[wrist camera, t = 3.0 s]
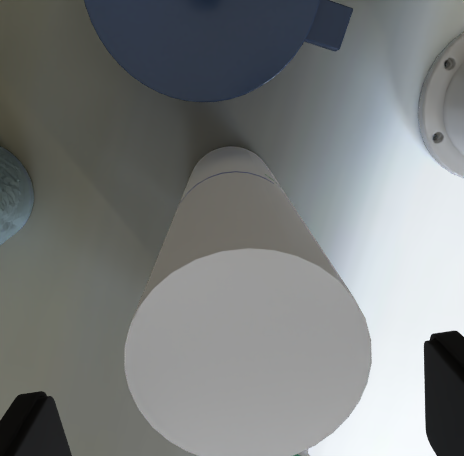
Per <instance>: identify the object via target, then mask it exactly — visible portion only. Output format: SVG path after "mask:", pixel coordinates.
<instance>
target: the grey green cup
mask: <svg viewBox="0 0 464 456" xmlns="http://www.w3.org/2000/svg"><path fill="white" fill-rule="evenodd" d="M33 202H34V192H33V186H32V183H31V180H30V177H29V175H28V173H27V171H26V169H25V168H24V166H23V165H22V164H21V162H20V161H19V160H18V159H17V158H16V157H15V156H14V155H13V154H12V153H10V152H9V151H8V150H6V149H5V148H3V147H1V146H0V245H1V244H2V243H3V242H5V241H6V240H7V239H8V238H10V237H11V236H13V235H14V234H15V233H16V232H18V231H19V230H20V229H21V228H22V227H23V226H24V225H25V223H26V221H27V220H28V218H29V216H30V214H31V211H32V207H33Z"/></svg>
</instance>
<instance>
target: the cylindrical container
mask: <svg viewBox="0 0 464 456" xmlns="http://www.w3.org/2000/svg"><path fill="white" fill-rule="evenodd" d="M371 362H372V361H371V338H370V335H369V331H368V327H367V323H366V319H365V317H364V315H363V313H362V312H361V310H360V308H359V306H358V304H357V302H356V301H355V299H354V297H353V296H352V294H351V293H350V291H349V290H348V288H347V286H346V285H345V283H344V282H343V280H342V279H341V277H340V276H339V274H338V273H337V271H336V270H335V268H334V267H333V265H332V264H331V262H330V261H329V259H328V258H327V256H326V255H325V253H324V252H323V250H322V249H321V247H320V246H319V244H318V243H317V241H316V239H315V238H314V236H313V235H312V233H311V232H310V230H309V229H308V227H307V226H306V224H305V223H304V221H303V220H302V218H301V217H300V215H299V214H298V212H297V211H296V209H295V208H294V206H293V205H292V203H291V202H290V200H289V199H288V197H287V196H286V194H285V193H284V191H283V189H282V188H281V186H280V185H279V183H278V182H277V180H276V179H275V177H274V176H273V174H272V173H271V171H270V170H269V168H268V166H267V165H266V164H265V162H264V161H263V160H262V159H261V158H260V157H259V156H257V155H256V154H255V153H253V152H251V151H249V150H247V149H244V148H241V147H233V146H229V147H221V148H218V149H215V150H213V151H211V152H209V153H208V154H206V155H205V156H204V157H203V158H201V159H200V160H199V161H198V163H197V164H196V166H195V167H194V169H193V171H192V173H191V175H190V178H189V180H188V183H187V185H186V188H185V190H184V193H183V195H182V198H181V200H180V203H179V205H178V208H177V210H176V213H175V215H174V218H173V220H172V223H171V225H170V228H169V230H168V233H167V235H166V238H165V240H164V243H163V245H162V248H161V250H160V253H159V255H158V257H157V260H156V262H155V265H154V267H153V270H152V272H151V275H150V277H149V280H148V282H147V285H146V287H145V290H144V292H143V295H142V297H141V300H140V302H139V305H138V307H137V310H136V312H135V315H134V317H133V320H132V322H131V325H130V327H129V331H128V336H127V340H126V344H125V365H124V368H125V373H126V377H127V382H128V387H129V390H130V392H131V394H132V396H133V399H134V401H135V403H136V405H137V407H138V409H139V410H140V412H141V413H142V414H143V416H144V417H145V418H146V419H147V421H148V422H149V423H150V425H151V426H152V427H153V428H154V429H156V430H157V431H158V432H159V433H160V434H161V435H163V436H164V437H165V438H166V439H167V440H168V441H170V442H172V443H173V444H175V445H177V446H179V447H180V448H182V449H184V450H186V451H187V452H190V453H193V454H195V455H198V456H293V455H295V454H298V453H300V452H302V451H304V450H306V449H308V448H310V447H312V446H315V445H316V444H318V443H319V442H320V441H322V440H323V439H325V438H326V437H327V436H329V435H330V434H332V433H333V432H334V431H335V430H336V429H337V428H338V427H339V426H340V425H341V424H342V423H343V422H344V421H345V420H346V419H347V418H348V417H349V415H350V414H351V413H352V411H353V410H354V408H355V407H356V405H357V404H358V402H359V401H360V398H361V396H362V394H363V391H364V389H365V387H366V385H367V382H368V377H369V372H370V367H371Z"/></svg>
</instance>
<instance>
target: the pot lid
mask: <svg viewBox="0 0 464 456" xmlns="http://www.w3.org/2000/svg"><path fill="white" fill-rule="evenodd" d="M319 1H320V0H84V2H85V6H86V9H87V11H88V14H89V17H90V20H91V22H92V24H93V26H94V28H95V30H96V32H97V34H98V36H99V38H100V40H101V41H102V43H103V44H104V46H105V47H106V49H107V50H108V52H109V53H110V54H111V55H112V57H113V58H114V59H115V60H116V61H117V62H118V64H119V65H120V66H121V67H123V68H124V69H125V70H126V71H127V72H128V73H129V74H130V75H131V76H133V77H134V78H135V79H137V80H138V81H140V82H141V83H142V84H144V85H146V86H147V87H149V88H151V89H153V90H155V91H157V92H159V93H161V94H164V95H167V96H169V97H172V98H176V99H181V100H185V101H193V102H217V101H223V100H228V99H232V98H235V97H239V96H242V95H245V94H247V93H249V92H251V91H253V90H255V89H257V88H259V87H260V86H262V85H264V84H265V83H267V82H268V81H270V80H271V79H272V78H273V77H275V76H276V75H277V74H278V73H279V72H280V71H282V70H283V69H284V67H285V66H286V65H287V64H288V63H289V62H290V61H291V60H292V59H293V57H294V56H295V54H296V53H297V52H298V50H299V49H300V47H301V46H302V44H303V42H304V41H305V39H306V37H307V35H308V33H309V31H310V29H311V26H312V24H313V21H314V19H315V16H316V13H317V9H318V5H319Z"/></svg>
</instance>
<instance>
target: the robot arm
mask: <svg viewBox="0 0 464 456" xmlns="http://www.w3.org/2000/svg"><path fill="white" fill-rule="evenodd" d="M445 62H446V63H447V66H446V67H444V63H445ZM418 118H419V125H420V132H421V135H422V138H423V141H424V143H425V146H426V147H427V149H428V151H429V152H430V154H431V156H432V157H433V158H434V159H435V160H436V161H437V162H438V163H439V164H440V165H441V166H442V167H443V168H445V169H446V170H448V171H449V172H451V173H452V174H454V175H457V176H459V177H462V178H464V32H463V33H462V34H460V35H459V36H458V37H457V38H455V39H454V40H453V41H452V42H450V43H449V44H448V46H447V47H446V48H445V49H444V50H443V51H442V52H441V53H440V54H439V56H438V57H437V59H436V60H435V62H434V63H433V65H432V67H431V68H430V70H429V72H428V74H427V77H426V79H425V82H424V84H423V87H422V91H421V95H420V100H419V113H418ZM434 134H435V139H432V137H433V135H434ZM424 375H425V420H426V434H427V437H428V440H429V443H430V445H431V447H432V448H433V450H434V452H435V453H436V455H437V456H464V337H463V336H462V335H461V334H460V333H459V332H457V331H449V332H442V333H435V334H432V335H431V337H430V340H429V341H425V343H424ZM0 456H72V455H71V452H70V448H69V445H68V442H67V439H66V436H65V433H64V429H63V426H62V423H61V420H60V417H59V414H58V411H57V407H56V404H55V401H54V399H53V398H52V397H51V396H48V397H47V395H46V393H45V392H42V391H40V392H34V393H27V394H21V395H18V396H17V397H16V398H15V400H14V401H13V403H12V404H11V406H10V407H9V409H8V410H7V412H6V413H5V415H4V416H3V418H2V419H1V421H0Z"/></svg>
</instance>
